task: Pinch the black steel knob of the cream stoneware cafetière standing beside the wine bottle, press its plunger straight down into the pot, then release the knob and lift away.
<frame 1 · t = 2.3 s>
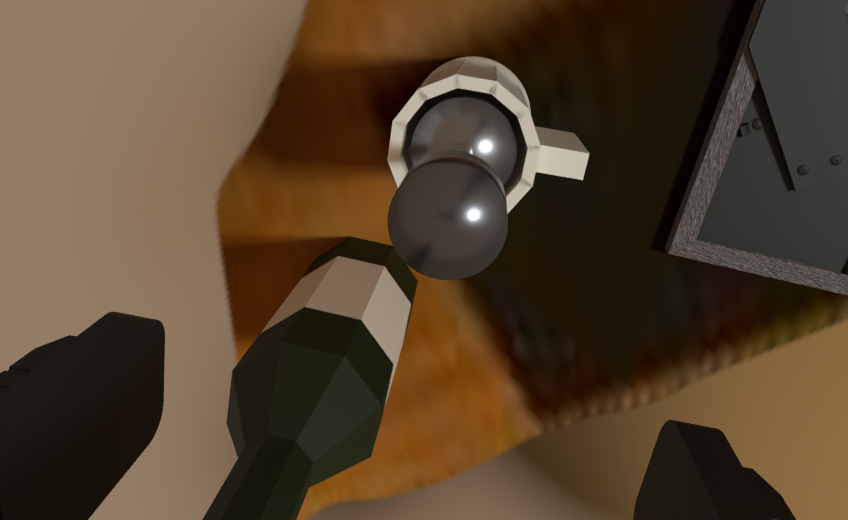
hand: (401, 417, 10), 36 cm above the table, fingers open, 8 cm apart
picture frame: (807, 142, 43), on the table
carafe: (471, 117, 44), on the table
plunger: (457, 178, 27), point 18 cm above the table, slide at 0.0 cm
wine bottle: (363, 288, 49), on the table
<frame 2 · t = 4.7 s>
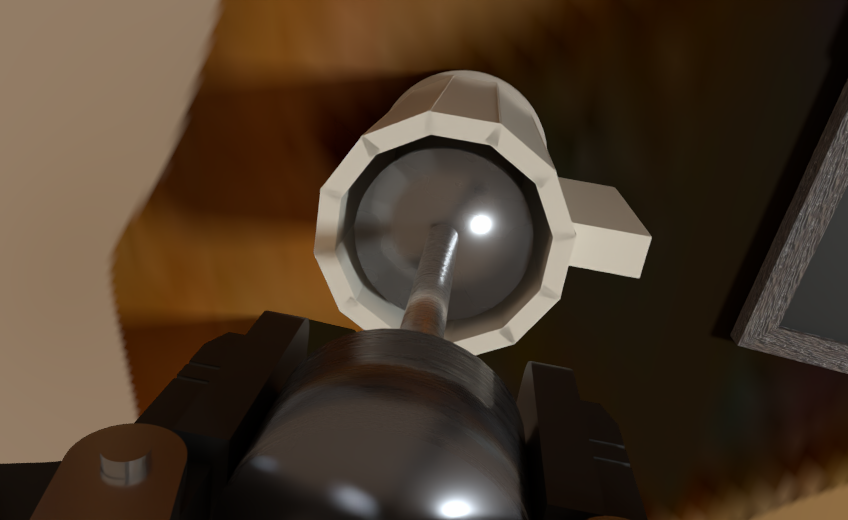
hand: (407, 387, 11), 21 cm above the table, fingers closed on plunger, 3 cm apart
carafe: (461, 156, 31), on the table
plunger: (423, 326, 13), point 18 cm above the table, slide at 0.0 cm, touching gripper
wine bottle: (315, 383, 36), on the table
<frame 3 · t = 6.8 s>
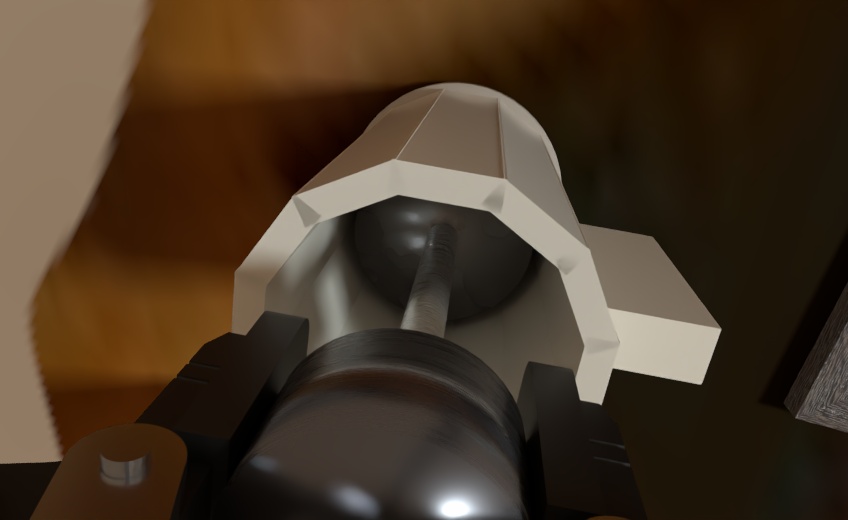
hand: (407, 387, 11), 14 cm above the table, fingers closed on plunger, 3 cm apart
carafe: (454, 188, 24), on the table
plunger: (423, 325, 13), point 12 cm above the table, slide at 6.5 cm, touching gripper
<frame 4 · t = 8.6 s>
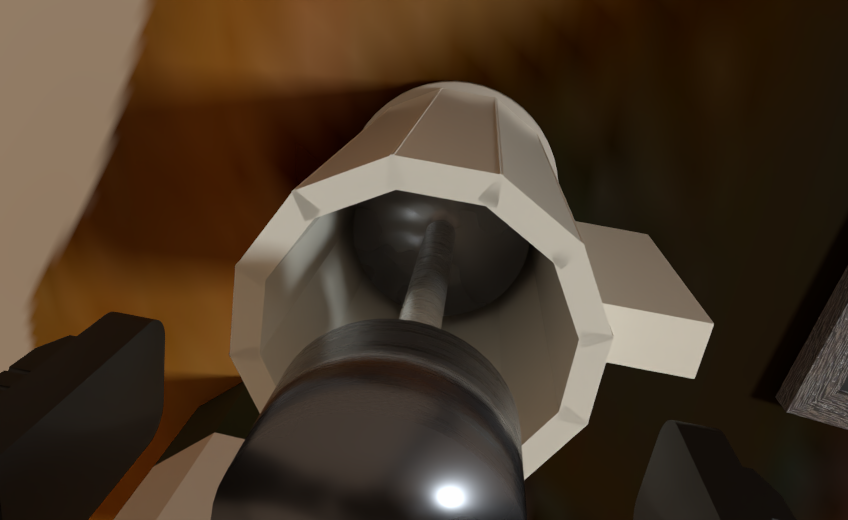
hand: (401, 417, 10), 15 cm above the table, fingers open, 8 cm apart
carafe: (451, 186, 25), on the table
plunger: (420, 319, 14), point 12 cm above the table, slide at 6.5 cm
wine bottle: (278, 453, 30), on the table
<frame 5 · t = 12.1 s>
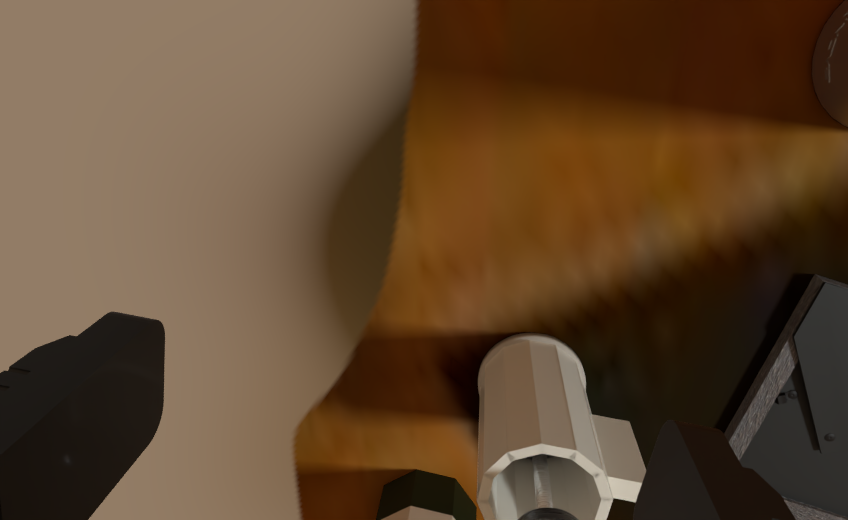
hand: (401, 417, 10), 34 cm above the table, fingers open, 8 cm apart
picture frame: (834, 407, 48), on the table
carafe: (530, 380, 48), on the table
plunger: (542, 485, 37), point 12 cm above the table, slide at 6.5 cm
wine bottle: (426, 509, 54), on the table
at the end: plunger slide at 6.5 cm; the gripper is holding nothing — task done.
